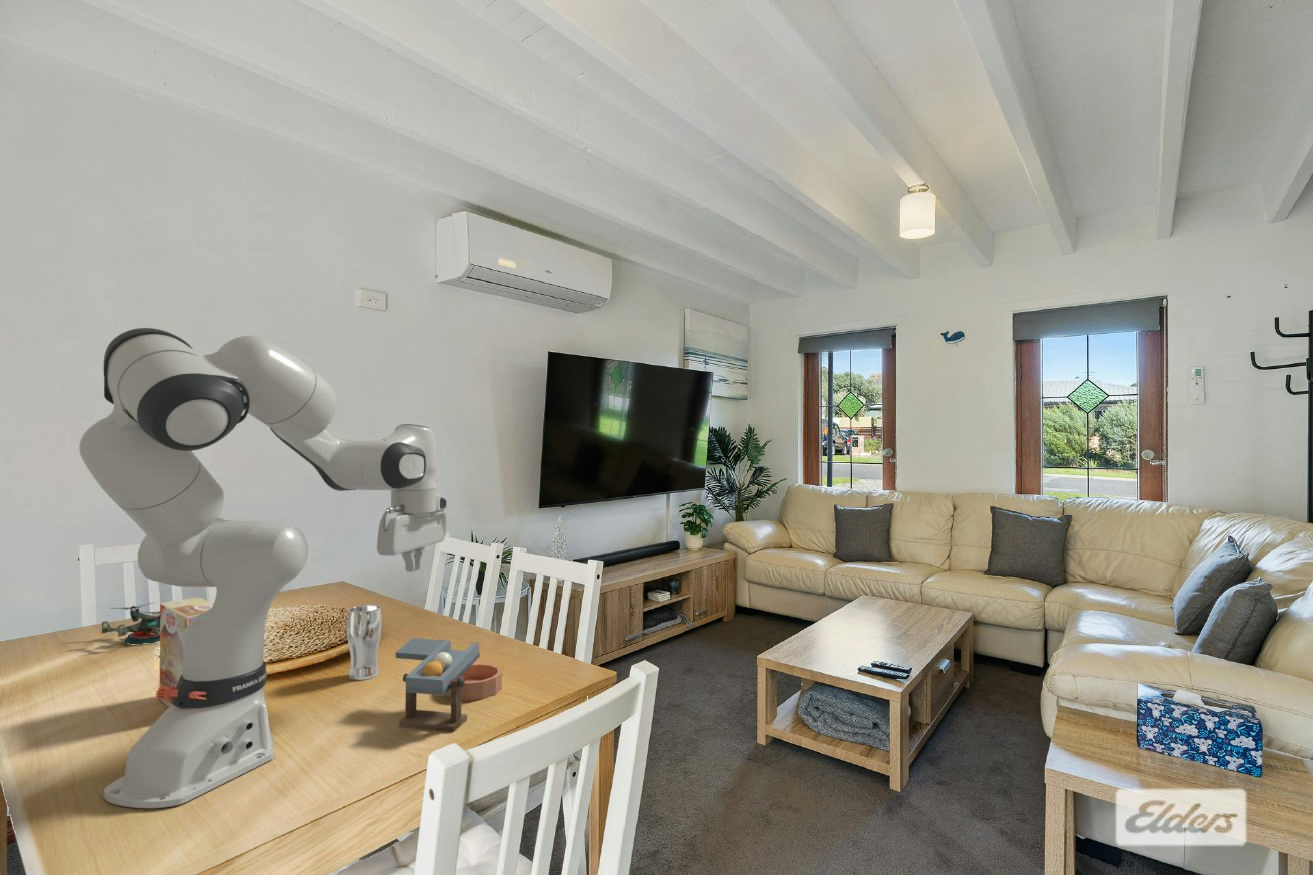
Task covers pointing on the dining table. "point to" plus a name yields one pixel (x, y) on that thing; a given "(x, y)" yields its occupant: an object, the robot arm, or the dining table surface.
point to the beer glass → (364, 640)
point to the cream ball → (443, 660)
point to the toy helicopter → (138, 627)
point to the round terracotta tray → (480, 682)
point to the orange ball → (433, 669)
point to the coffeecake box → (176, 637)
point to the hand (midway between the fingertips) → (413, 570)
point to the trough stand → (433, 718)
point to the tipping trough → (427, 652)
